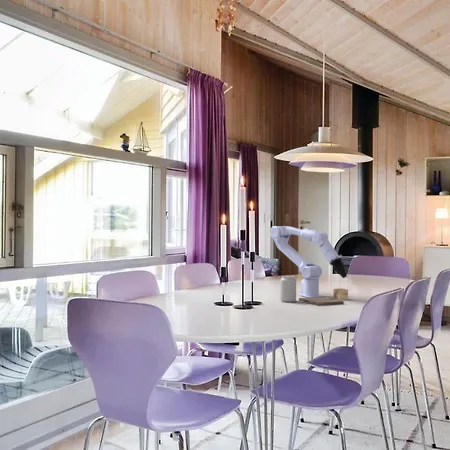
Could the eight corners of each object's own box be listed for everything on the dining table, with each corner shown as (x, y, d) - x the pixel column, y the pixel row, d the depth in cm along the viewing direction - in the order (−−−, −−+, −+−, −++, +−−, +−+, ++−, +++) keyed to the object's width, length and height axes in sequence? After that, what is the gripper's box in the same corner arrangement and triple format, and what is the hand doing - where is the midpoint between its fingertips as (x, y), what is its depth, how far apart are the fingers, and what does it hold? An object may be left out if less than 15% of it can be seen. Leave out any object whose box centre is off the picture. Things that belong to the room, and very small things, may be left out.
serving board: (298, 300, 238) (299, 298, 238) (323, 298, 244) (323, 296, 244) (318, 305, 223) (318, 303, 223) (343, 303, 229) (343, 301, 229)
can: (283, 302, 231) (284, 277, 231) (277, 300, 238) (278, 275, 238) (298, 302, 233) (298, 276, 233) (292, 299, 240) (292, 275, 240)
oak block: (333, 298, 245) (333, 288, 245) (341, 298, 247) (341, 288, 247) (339, 300, 241) (339, 289, 241) (347, 299, 243) (348, 289, 243)
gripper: (334, 243, 237) (350, 267, 231) (337, 252, 250) (352, 274, 244) (321, 251, 238) (337, 274, 232) (325, 259, 251) (340, 281, 245)
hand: (344, 275), depth 238 cm, fingers open, 7 cm apart
